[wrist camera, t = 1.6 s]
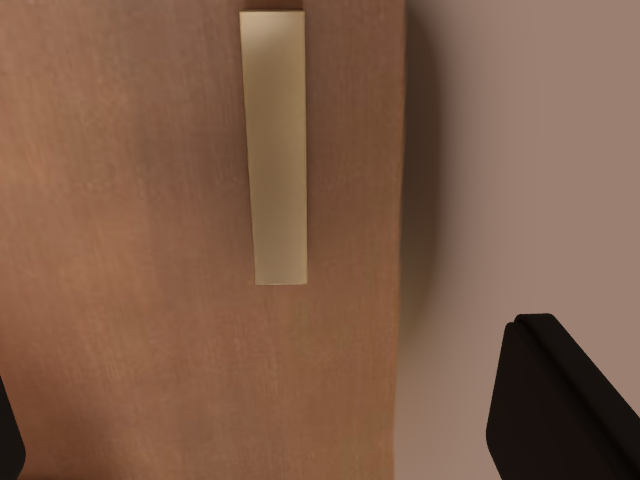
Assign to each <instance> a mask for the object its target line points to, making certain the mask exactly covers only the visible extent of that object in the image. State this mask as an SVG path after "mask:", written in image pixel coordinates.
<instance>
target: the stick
mask: <svg viewBox="0 0 640 480" xmlns="http://www.w3.org/2000/svg"><path fill="white" fill-rule="evenodd" d="M239 24H240V41H241V57H242V73H243V89H244V106H245V122H246V138H247V155H248V171H249V187H250V204H251V220H252V236H253V252H254V269H255V284H256V285H288V284H307V283H308V274H307V175H306V75H305V11H304V10H303V9H245V10H240V11H239Z"/></svg>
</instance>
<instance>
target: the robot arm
mask: <svg viewBox="0 0 640 480" xmlns="http://www.w3.org/2000/svg"><path fill="white" fill-rule="evenodd" d="M486 441H487V445H488V449H489V452H490V454H491V456H492V458H493V461H494V463H495V465H496V467H497V470H498V472H499V474H500V477H501V479H502V480H640V418H639V416H638V415H637V414H636V413H635V412H634V411H633V409H632V408H631V407H630V406H629V405H628V403H627V402H626V401H625V400H624V399H623V398H622V396H621V395H620V394H619V393H618V392H617V390H616V389H615V388H614V387H613V386H612V384H611V383H610V382H609V381H608V380H607V378H606V377H605V376H604V375H603V374H602V372H601V371H600V370H599V369H598V368H597V367H596V365H595V364H594V363H593V362H592V361H591V359H590V358H589V357H588V356H587V355H586V353H584V351H583V350H582V349H581V348H580V346H579V345H578V344H577V343H576V342H575V340H574V339H573V338H572V337H571V336H570V334H569V333H568V332H567V331H566V330H565V328H564V327H563V326H562V325H561V324H560V322H559V321H558V320H557V319H556V318H555V317H554V316H553V315H552V314H548V313H546V314H545V313H543V314H519V315H517V316H516V318H515V320H514V322H509V323H507V325H506V327H505V331H504V337H503V341H502V347H501V352H500V358H499V363H498V369H497V374H496V379H495V385H494V390H493V395H492V401H491V406H490V412H489V417H488V422H487V428H486ZM25 457H26V451H25V447H24V444H23V441H22V438H21V435H20V432H19V429H18V426H17V423H16V420H15V417H14V414H13V411H12V408H11V405H10V402H9V399H8V396H7V394H6V391H5V388H4V385H3V382H2V379H1V376H0V480H17V478H18V476H19V474H20V473H21V471H22V469H23V466H24V463H25Z"/></svg>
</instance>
